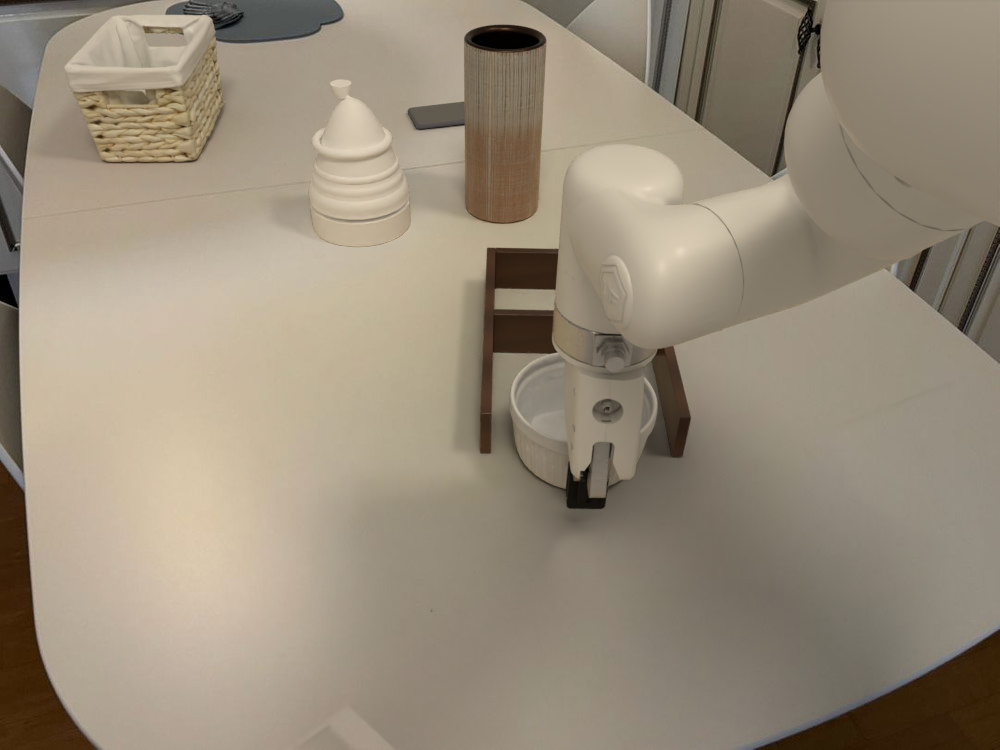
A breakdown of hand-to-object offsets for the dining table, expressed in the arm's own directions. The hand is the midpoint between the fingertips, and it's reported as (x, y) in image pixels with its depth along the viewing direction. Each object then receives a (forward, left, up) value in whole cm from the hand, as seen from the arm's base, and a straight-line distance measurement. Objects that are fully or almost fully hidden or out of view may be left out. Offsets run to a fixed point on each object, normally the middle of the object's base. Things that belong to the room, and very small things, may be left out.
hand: (584, 501), depth 71 cm
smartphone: (+48, -74, -3) cm, 89 cm away
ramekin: (+3, -8, -3) cm, 10 cm away
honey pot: (+44, -37, -3) cm, 58 cm away
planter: (+29, -49, -3) cm, 57 cm away
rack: (+9, -21, -3) cm, 23 cm away
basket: (+86, -48, -3) cm, 99 cm away
